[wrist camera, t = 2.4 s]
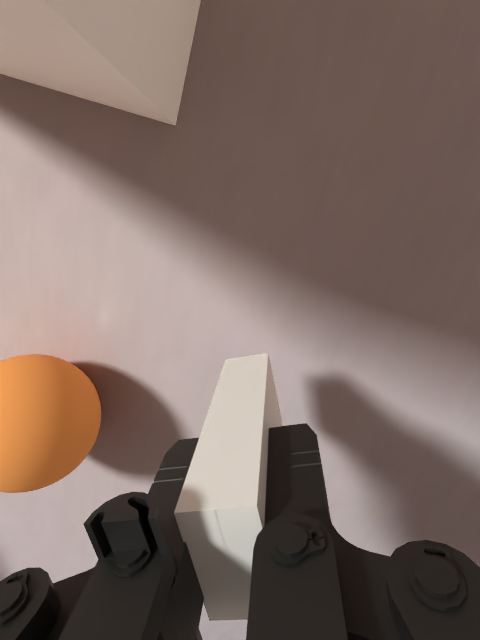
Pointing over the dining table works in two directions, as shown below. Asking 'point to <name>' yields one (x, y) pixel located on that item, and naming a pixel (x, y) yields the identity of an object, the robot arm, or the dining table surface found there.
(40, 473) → the ball
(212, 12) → the dining table surface
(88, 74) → the milk
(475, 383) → the dining table surface
